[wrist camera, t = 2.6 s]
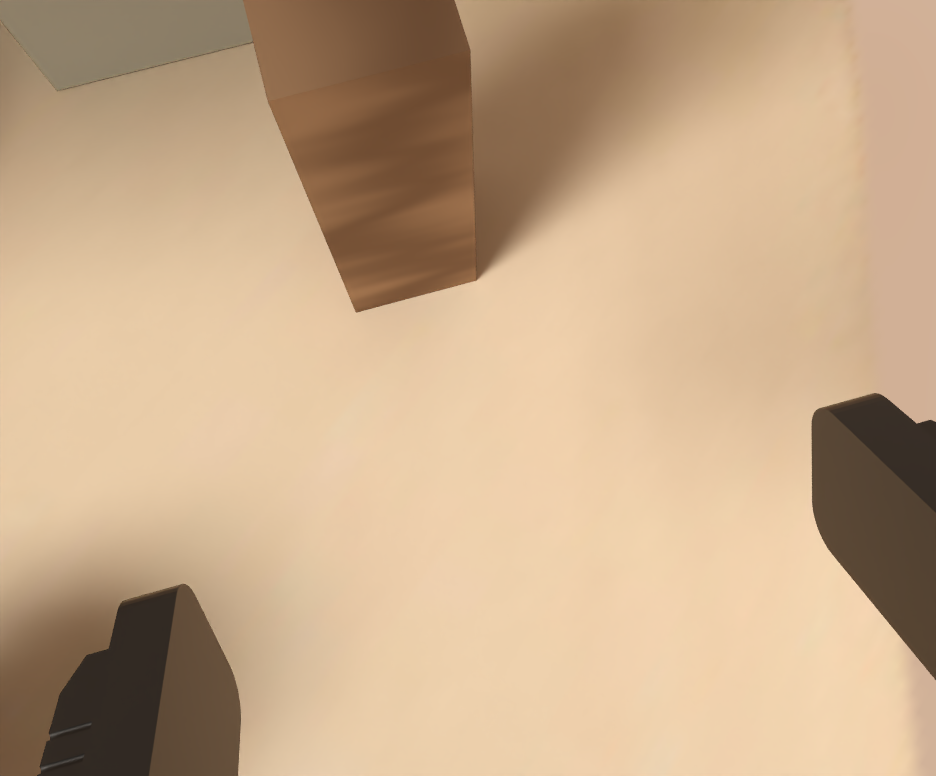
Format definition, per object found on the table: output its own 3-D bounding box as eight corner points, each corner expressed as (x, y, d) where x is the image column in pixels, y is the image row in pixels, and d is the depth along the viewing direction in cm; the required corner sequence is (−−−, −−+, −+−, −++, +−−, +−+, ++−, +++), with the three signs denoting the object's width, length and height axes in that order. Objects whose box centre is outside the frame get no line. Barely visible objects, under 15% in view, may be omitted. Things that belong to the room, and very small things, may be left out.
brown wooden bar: (356, 312, 29) (268, 101, 17) (327, 202, 30) (226, -68, 18) (476, 280, 29) (470, 49, 17) (444, 172, 30) (417, -115, 18)
